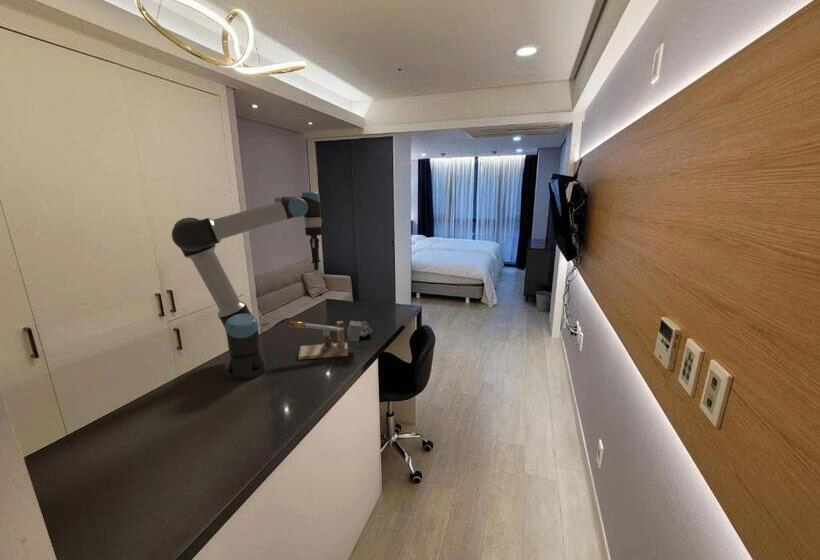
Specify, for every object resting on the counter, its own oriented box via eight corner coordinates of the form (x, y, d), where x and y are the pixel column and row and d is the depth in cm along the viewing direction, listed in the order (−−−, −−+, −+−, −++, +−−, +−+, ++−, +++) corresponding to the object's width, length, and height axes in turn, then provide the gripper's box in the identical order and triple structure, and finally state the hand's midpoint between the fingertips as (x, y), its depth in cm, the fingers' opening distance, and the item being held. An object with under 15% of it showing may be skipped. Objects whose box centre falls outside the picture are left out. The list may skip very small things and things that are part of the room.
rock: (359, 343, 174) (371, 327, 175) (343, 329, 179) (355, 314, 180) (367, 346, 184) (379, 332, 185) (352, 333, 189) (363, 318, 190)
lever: (287, 333, 152) (289, 318, 151) (289, 328, 158) (291, 313, 157) (358, 341, 160) (361, 326, 159) (357, 336, 166) (360, 321, 165)
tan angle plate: (298, 359, 154) (296, 332, 151) (300, 348, 164) (299, 323, 161) (348, 355, 158) (347, 329, 155) (347, 345, 169) (346, 320, 166)
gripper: (320, 227, 152) (324, 279, 158) (322, 224, 165) (326, 272, 171) (303, 228, 151) (307, 279, 157) (306, 225, 163) (310, 273, 170)
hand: (317, 275), depth 164 cm, fingers closed
